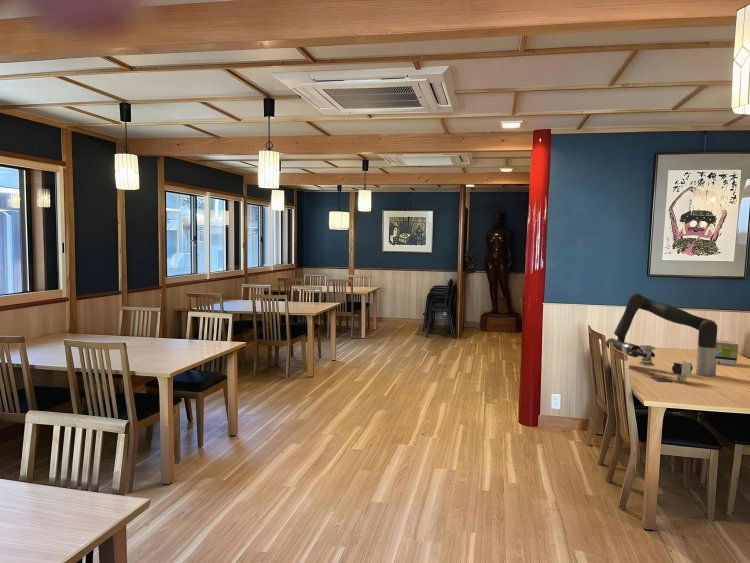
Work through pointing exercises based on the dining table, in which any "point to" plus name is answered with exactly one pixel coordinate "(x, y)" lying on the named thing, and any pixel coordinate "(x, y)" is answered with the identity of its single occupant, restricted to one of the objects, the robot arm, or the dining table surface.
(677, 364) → the pneumatic valve
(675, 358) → the dining table surface
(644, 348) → the grey column pedestal
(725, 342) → the tea box
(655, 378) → the pad
